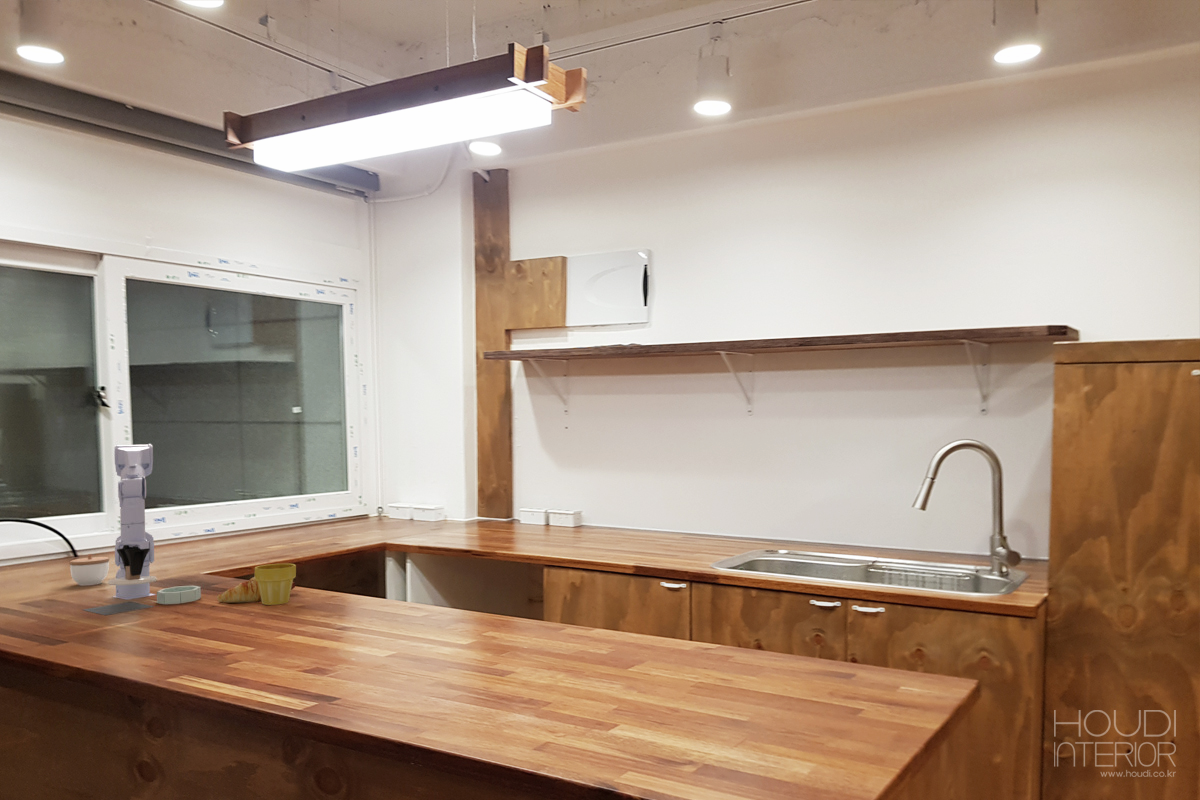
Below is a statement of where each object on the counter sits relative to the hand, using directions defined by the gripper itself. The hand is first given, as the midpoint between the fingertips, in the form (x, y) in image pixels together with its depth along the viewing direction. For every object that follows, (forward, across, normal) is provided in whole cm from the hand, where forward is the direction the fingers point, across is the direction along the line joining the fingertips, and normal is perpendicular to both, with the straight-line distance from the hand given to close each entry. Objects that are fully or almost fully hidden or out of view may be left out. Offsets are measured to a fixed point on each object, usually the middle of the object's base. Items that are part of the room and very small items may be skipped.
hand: (133, 574), depth 226 cm
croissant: (+9, +18, +25) cm, 32 cm away
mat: (+9, -1, -4) cm, 10 cm away
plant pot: (+9, +29, +24) cm, 39 cm away
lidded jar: (+9, -56, +11) cm, 58 cm away
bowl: (+9, +3, +10) cm, 14 cm away
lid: (+2, 0, 0) cm, 2 cm away
